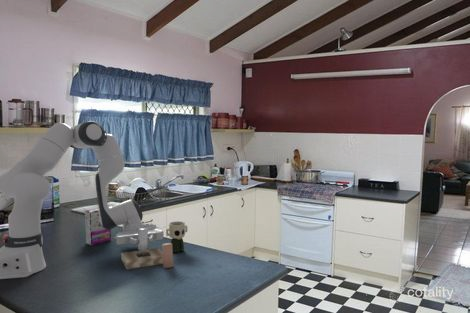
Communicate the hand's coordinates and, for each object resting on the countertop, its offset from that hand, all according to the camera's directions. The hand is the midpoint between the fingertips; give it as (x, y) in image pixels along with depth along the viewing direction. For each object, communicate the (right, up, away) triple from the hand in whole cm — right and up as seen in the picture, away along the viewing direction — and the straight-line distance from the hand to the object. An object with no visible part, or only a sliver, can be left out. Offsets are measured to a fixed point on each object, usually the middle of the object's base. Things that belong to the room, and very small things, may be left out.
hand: (143, 241), depth 162 cm
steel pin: (0, -9, +2) cm, 9 cm away
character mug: (+12, -8, +15) cm, 21 cm away
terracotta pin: (+11, -9, -4) cm, 15 cm away
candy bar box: (-29, -7, +28) cm, 41 cm away
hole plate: (0, -9, +2) cm, 9 cm away
